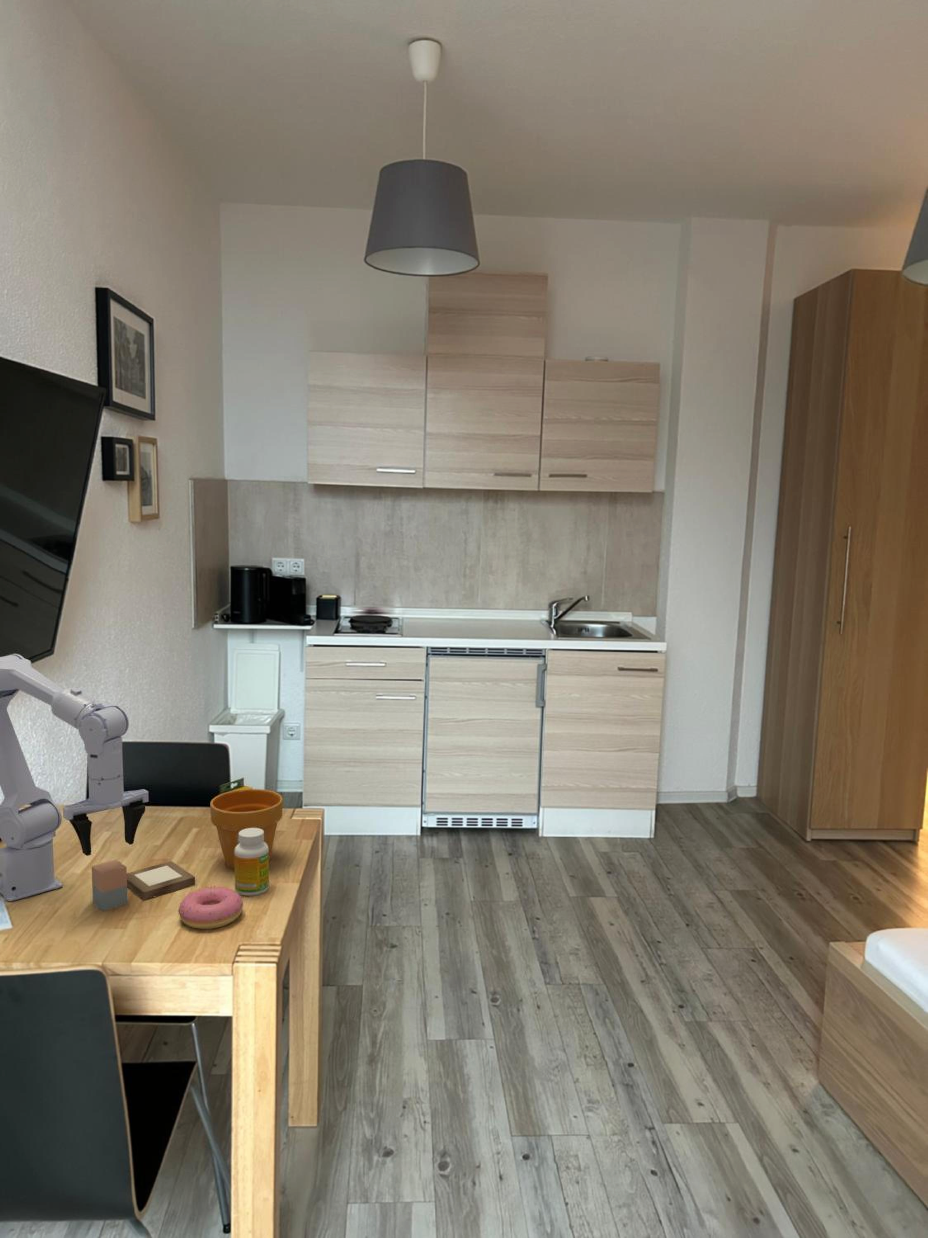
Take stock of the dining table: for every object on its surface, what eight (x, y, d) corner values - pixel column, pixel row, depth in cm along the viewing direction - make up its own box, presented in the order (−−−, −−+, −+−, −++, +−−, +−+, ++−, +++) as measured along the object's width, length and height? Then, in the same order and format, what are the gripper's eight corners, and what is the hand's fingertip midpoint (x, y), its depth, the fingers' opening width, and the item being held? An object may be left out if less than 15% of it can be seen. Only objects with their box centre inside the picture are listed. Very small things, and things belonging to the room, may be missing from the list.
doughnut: (205, 899, 159) (205, 878, 159) (255, 910, 155) (255, 888, 155) (165, 925, 149) (164, 903, 148) (217, 938, 145) (217, 915, 145)
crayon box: (229, 840, 187) (228, 788, 185) (219, 837, 188) (218, 785, 187) (253, 829, 193) (253, 779, 192) (244, 826, 195) (243, 777, 193)
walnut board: (144, 900, 158) (143, 892, 158) (121, 882, 165) (121, 874, 165) (195, 884, 165) (194, 876, 165) (171, 868, 172) (171, 860, 172)
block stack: (102, 911, 153) (101, 874, 152) (92, 902, 157) (91, 866, 156) (127, 903, 157) (126, 867, 156) (117, 895, 160) (116, 859, 159)
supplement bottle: (264, 897, 160) (263, 839, 159) (230, 896, 160) (229, 838, 159) (272, 882, 166) (271, 826, 165) (240, 881, 166) (239, 825, 165)
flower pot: (265, 879, 168) (264, 815, 166) (198, 871, 170) (197, 808, 169) (293, 851, 181) (293, 791, 180) (231, 844, 184) (230, 786, 182)
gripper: (72, 789, 146) (75, 866, 147) (155, 772, 156) (157, 844, 157) (57, 779, 151) (60, 853, 152) (138, 763, 161) (140, 833, 162)
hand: (108, 848), depth 155 cm, fingers open, 7 cm apart
